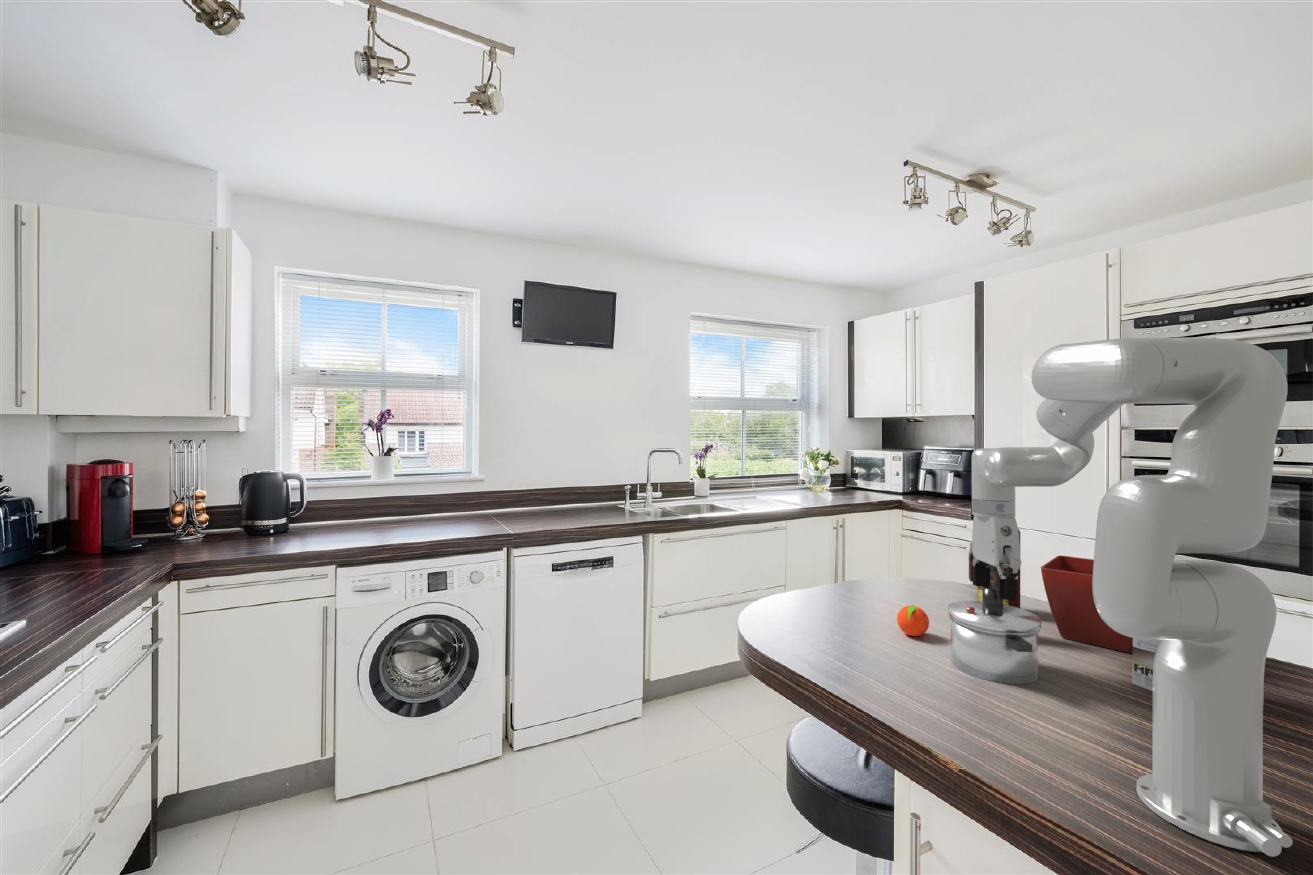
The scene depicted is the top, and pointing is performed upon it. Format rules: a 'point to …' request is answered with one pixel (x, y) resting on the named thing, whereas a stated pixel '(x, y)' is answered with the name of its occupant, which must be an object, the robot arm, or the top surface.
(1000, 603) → the lid
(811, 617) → the top surface
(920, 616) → the clementine
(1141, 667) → the coffee box
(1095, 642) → the plant pot
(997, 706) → the top surface
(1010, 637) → the pot
